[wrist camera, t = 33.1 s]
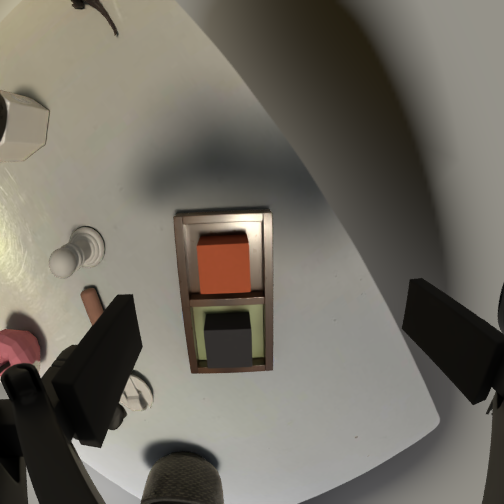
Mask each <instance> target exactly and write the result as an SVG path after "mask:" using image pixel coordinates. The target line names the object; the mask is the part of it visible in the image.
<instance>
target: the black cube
mask: <svg viewBox="0 0 504 504" xmlns="http://www.w3.org/2000/svg"><path fill="white" fill-rule="evenodd" d="M204 340H205V349H206V358H207V366H208V369H210V368H240V367H252V366H253V362H252V330H251V322H250V314H249V312H239V313H214V314H206V318H205V324H204Z"/></svg>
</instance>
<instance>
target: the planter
mask: <svg viewBox="0 0 504 504" xmlns="http://www.w3.org/2000/svg"><path fill="white" fill-rule="evenodd" d="M141 504H224V499H223V489H222V483H221V478H220V476H219V473H218V471H217V470H216V468H215V467H214V466H213V465H212V464H211V463H210V462H208V461H207V460H205V459H204V458H203V457H202V456H200V455H198V454H195V453H192V452H185V451H179V452H174V453H171V454H170V455H167V456H164V457H162V458H160V459H159V460H158V461H157V462H155V464H154V465H153V467H152V468H151V470H150V473H149V475H148V478H147V481H146V484H145V488H144V491H143V496H142V500H141Z"/></svg>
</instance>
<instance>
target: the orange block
mask: <svg viewBox="0 0 504 504" xmlns="http://www.w3.org/2000/svg"><path fill="white" fill-rule="evenodd" d="M197 258H198V270H199V281H200V292H201V294H220V293H242V292H251V282H250V254H249V241H248V237H247V234H244V235H223V236H202V237H200V239H199V242H198V244H197Z"/></svg>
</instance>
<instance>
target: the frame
mask: <svg viewBox="0 0 504 504" xmlns="http://www.w3.org/2000/svg"><path fill="white" fill-rule="evenodd" d="M174 231H175V243H176V255H177V265H178V276H179V285H180V294H181V303H182V311H183V319H184V327H185V334H186V342H187V349H188V355H189V362H190V369H191V373H235V372H254V371H265V370H266V371H269V370H273V222H272V212H271V211H270V209H263V210H235V211H212V212H192V213H177V214H176V215H175V216H174ZM244 234H247V237H248V241H249V254H250V282H251V292H242V293H220V294H201V292H200V281H199V270H198V258H197V244H198V242H199V239H200V237H202V236H223V235H244ZM239 312H249V314H250V322H251V330H252V362H253V366H252V367H240V368H210V369H208V366H207V358H206V349H205V340H204V324H205V318H206V314H214V313H239Z"/></svg>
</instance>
